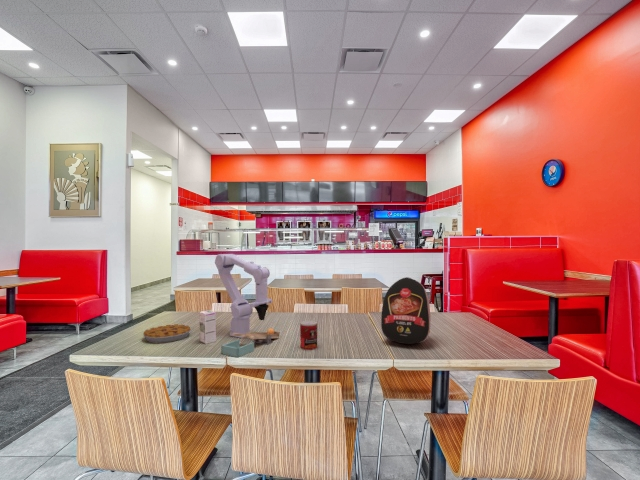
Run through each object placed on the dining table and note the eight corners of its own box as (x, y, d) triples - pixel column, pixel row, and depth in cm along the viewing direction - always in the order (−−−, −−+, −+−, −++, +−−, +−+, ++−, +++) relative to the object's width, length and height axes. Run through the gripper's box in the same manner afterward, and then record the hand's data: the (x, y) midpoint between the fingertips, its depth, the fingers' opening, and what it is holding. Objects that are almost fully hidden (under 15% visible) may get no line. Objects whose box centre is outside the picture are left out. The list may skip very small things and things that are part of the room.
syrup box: (216, 341, 154) (216, 311, 155) (204, 344, 150) (204, 313, 150) (210, 339, 158) (210, 309, 158) (199, 341, 154) (199, 311, 154)
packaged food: (379, 346, 144) (378, 279, 145) (385, 334, 163) (384, 275, 163) (430, 351, 137) (429, 280, 137) (431, 338, 155) (430, 276, 156)
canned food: (304, 350, 139) (304, 325, 139) (297, 345, 146) (297, 321, 146) (320, 348, 143) (320, 323, 143) (312, 343, 150) (312, 319, 150)
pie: (149, 347, 147) (149, 336, 147) (138, 337, 163) (138, 327, 163) (197, 338, 161) (197, 328, 161) (182, 329, 178) (182, 320, 178)
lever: (231, 334, 150) (232, 328, 151) (257, 334, 165) (258, 328, 166) (254, 339, 143) (255, 332, 144) (279, 338, 158) (279, 332, 158)
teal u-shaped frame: (221, 353, 137) (221, 345, 137) (238, 347, 145) (238, 339, 145) (237, 357, 132) (237, 348, 132) (254, 350, 140) (254, 342, 140)
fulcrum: (252, 342, 153) (252, 334, 153) (258, 339, 156) (258, 332, 156) (267, 344, 148) (267, 337, 148) (272, 342, 151) (272, 335, 151)
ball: (265, 335, 156) (265, 328, 157) (270, 334, 159) (270, 327, 160) (271, 336, 155) (271, 329, 155) (275, 335, 158) (275, 328, 158)
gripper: (258, 294, 150) (258, 323, 150) (277, 290, 163) (277, 317, 162) (246, 293, 153) (246, 322, 153) (266, 289, 166) (266, 316, 166)
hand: (261, 319), depth 158 cm, fingers closed
